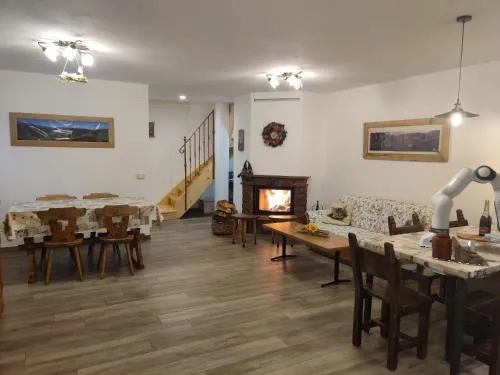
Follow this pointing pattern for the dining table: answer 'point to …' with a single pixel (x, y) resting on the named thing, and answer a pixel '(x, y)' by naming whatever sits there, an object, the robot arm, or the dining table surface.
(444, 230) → the robot arm
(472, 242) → the peg
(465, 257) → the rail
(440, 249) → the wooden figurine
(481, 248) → the dining table surface
